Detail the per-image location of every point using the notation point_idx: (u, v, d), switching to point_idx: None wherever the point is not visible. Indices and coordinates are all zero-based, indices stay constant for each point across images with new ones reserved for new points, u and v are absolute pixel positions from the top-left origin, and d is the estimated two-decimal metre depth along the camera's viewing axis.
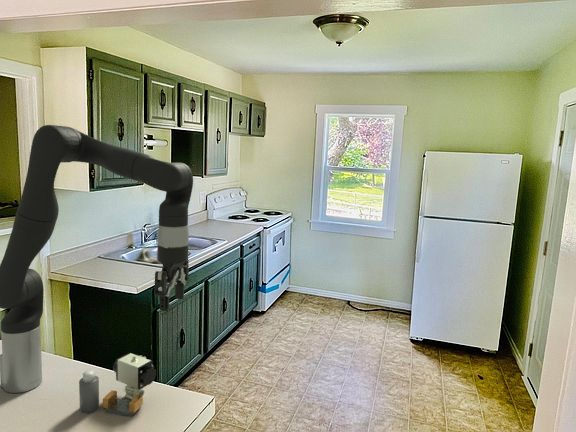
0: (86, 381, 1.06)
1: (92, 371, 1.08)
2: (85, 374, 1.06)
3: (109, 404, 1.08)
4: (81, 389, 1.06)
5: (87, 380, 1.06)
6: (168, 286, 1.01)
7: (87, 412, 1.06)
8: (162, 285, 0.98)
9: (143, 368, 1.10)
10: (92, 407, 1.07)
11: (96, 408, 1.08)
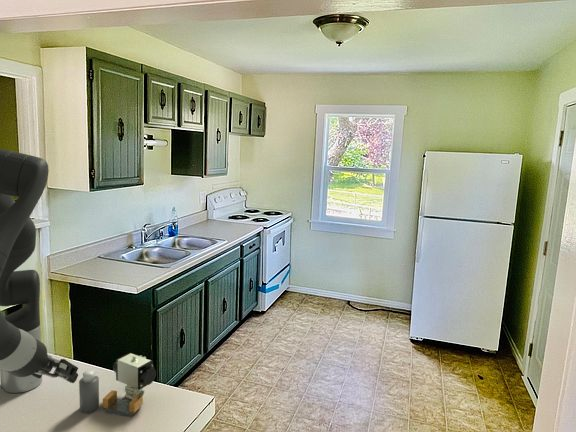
0: (86, 381, 1.06)
1: (92, 371, 1.08)
2: (85, 374, 1.06)
3: (109, 404, 1.08)
4: (81, 389, 1.06)
5: (87, 380, 1.06)
6: None
7: (87, 412, 1.06)
8: None
9: (143, 368, 1.10)
10: (92, 407, 1.07)
11: (96, 408, 1.08)
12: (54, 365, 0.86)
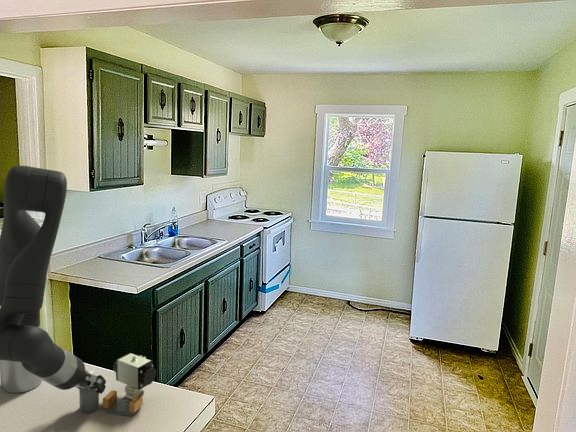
0: None
1: (92, 371, 1.08)
2: None
3: (109, 404, 1.08)
4: (81, 389, 1.06)
5: None
6: None
7: (87, 412, 1.06)
8: None
9: (143, 368, 1.10)
10: (92, 407, 1.07)
11: (96, 408, 1.08)
12: (92, 380, 1.01)
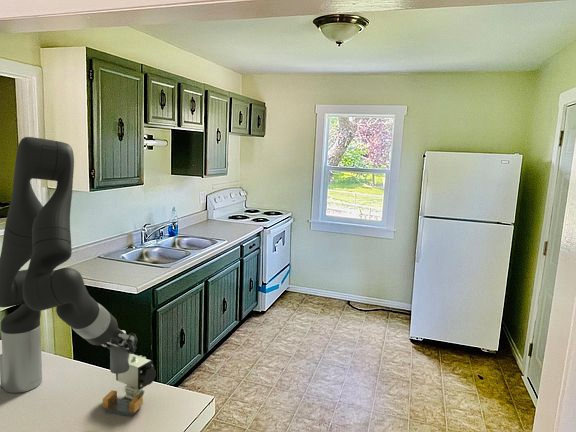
0: None
1: (123, 331, 1.06)
2: None
3: (109, 404, 1.08)
4: (112, 348, 1.04)
5: None
6: None
7: (118, 372, 1.04)
8: None
9: (143, 368, 1.10)
10: (123, 367, 1.05)
11: (127, 369, 1.06)
12: (125, 337, 0.99)
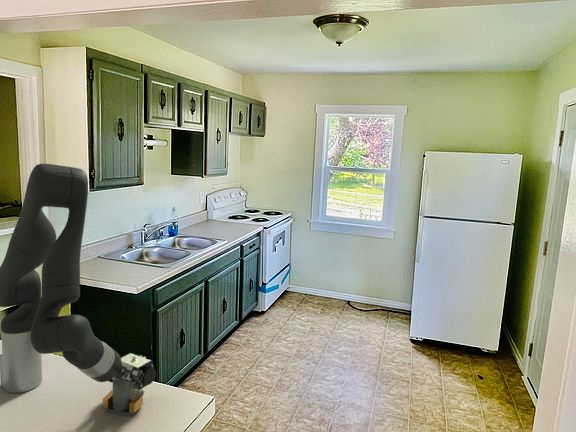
0: None
1: None
2: None
3: (109, 404, 1.08)
4: (114, 386, 1.06)
5: None
6: None
7: (120, 409, 1.06)
8: None
9: (143, 368, 1.10)
10: (125, 405, 1.07)
11: None
12: (128, 372, 1.00)
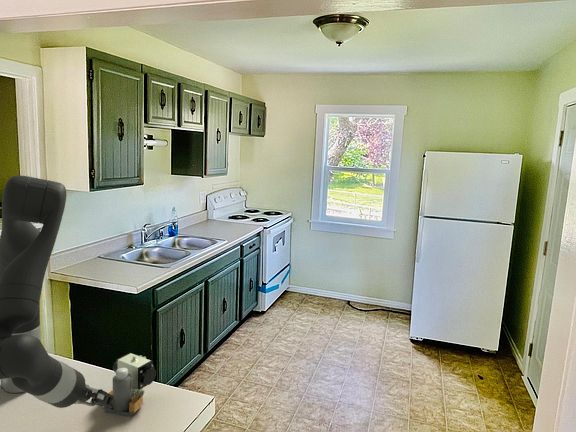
0: (119, 379, 1.06)
1: (125, 369, 1.08)
2: (118, 372, 1.06)
3: None
4: (114, 386, 1.06)
5: (120, 378, 1.06)
6: None
7: (120, 410, 1.06)
8: None
9: (143, 368, 1.10)
10: (125, 405, 1.07)
11: None
12: (92, 395, 0.88)
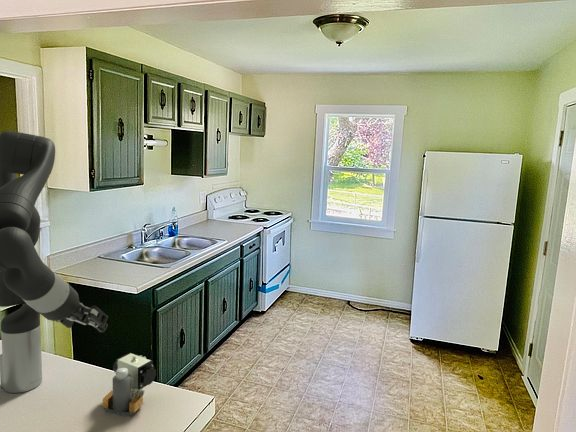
0: (119, 379, 1.06)
1: (125, 369, 1.08)
2: (118, 372, 1.06)
3: (109, 404, 1.08)
4: (114, 387, 1.06)
5: (120, 378, 1.06)
6: None
7: (120, 410, 1.06)
8: None
9: (143, 368, 1.10)
10: (125, 405, 1.07)
11: None
12: (86, 311, 0.87)
